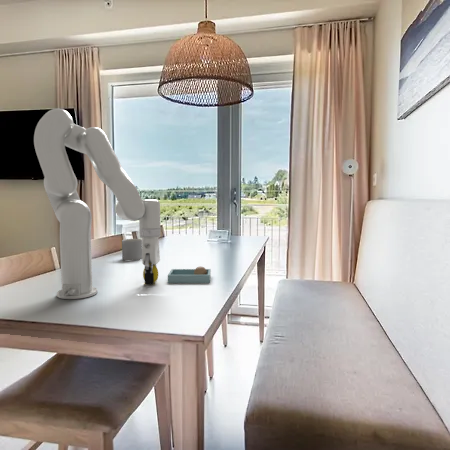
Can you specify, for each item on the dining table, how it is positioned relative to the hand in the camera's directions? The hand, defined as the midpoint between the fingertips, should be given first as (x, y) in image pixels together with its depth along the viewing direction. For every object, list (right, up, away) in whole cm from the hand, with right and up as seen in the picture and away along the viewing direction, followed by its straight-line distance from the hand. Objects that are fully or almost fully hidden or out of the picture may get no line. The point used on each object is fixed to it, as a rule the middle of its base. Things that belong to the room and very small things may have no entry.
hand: (150, 281), depth 136 cm
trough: (+14, -1, +6) cm, 15 cm away
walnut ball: (+18, 0, +6) cm, 19 cm away
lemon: (0, -2, 0) cm, 1 cm away
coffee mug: (-20, +3, +56) cm, 59 cm away
